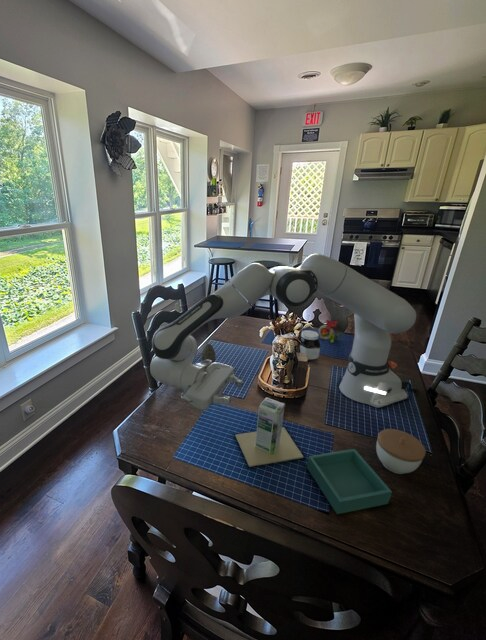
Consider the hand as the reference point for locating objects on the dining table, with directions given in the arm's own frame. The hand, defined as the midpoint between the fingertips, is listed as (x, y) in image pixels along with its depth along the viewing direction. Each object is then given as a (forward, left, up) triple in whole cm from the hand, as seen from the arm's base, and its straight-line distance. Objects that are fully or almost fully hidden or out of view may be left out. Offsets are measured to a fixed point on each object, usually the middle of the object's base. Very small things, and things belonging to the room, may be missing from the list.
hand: (236, 392), depth 94 cm
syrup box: (-8, +8, -14) cm, 18 cm away
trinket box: (-39, +21, -15) cm, 46 cm away
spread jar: (-44, -38, -15) cm, 60 cm away
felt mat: (-8, +8, -15) cm, 18 cm away
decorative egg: (-2, -40, -15) cm, 43 cm away
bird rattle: (-64, -50, -15) cm, 83 cm away
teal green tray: (-22, +24, -15) cm, 35 cm away
